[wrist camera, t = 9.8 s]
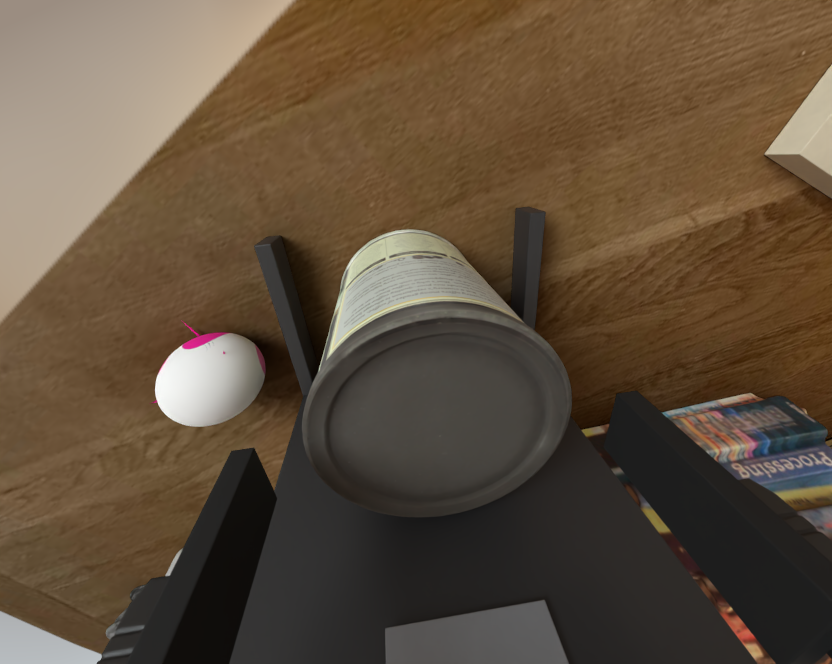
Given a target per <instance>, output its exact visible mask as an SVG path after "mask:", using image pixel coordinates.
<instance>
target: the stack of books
mask: <svg viewBox="0 0 832 664" xmlns="http://www.w3.org/2000/svg"><path fill="white" fill-rule="evenodd" d="M661 413H663V414H664V415H665V416H666V417H667V418H668V419H669V420H671V421H672V422H673V423H674V424H675V425H676V426H677V427H678V428H680V429H681V430H682V431H683V432H684V433H685V434H686V435H688V436H689V437H690V438H691V439H692V440H693V441H694V442H696V443H697V444H698V445H699V446H700V447H701V448H702V449H703V450H705V451H706V452H707V453H708V454H709V455H710V456H711V457H713V458H714V459H715V460H716V461H717V462H718V463H719V464H721V465H722V466H723V467H724V468H725V469H726V470H727V471H728V472H730V473H731V474H732V475H733V476H734V477H735V478H736V479H738V480H740V479H746V478H749V479H751V480H753V481H755V482H756V483H758V484H760V485H762V486H763V487H765V488H767V489H769V490H770V491H772V492H774V493H775V494H776V495H778V496H779V497H780V498H781V499H782V500H784V501H785V502H786V503H787V504H788V505H790V506H791V507H792V508H793V509H794V510H796V511H797V514H798V515H800V516H801V515H802V516H803V517H804V518H805V519H806V520H808V521H809V522H810V523H811V524H812V525H814V526H815V527H816V530H817V531H819V532H822V533H823V534H825V535H826V536H827V537H828V538H829V539H831V540H832V449H831V448H830V447H829V446H828V445H826V443H825V437H826V436H827V435H828V431H827V429H826V428H825V427H824V426H823V425H822V424H820V423H819V422H817V421H816V420H815V419H813V418H812V417H810V416H809V415H808V414H807V412H806V409H804V408H799V407H798V406H796V405H795V404H794V403H793V402H791V401H790V400H789V399H787V398H786V397H784V396H773V397H769V398H766V399H762V398H759V397H757V396H755V395H753V394H752V393H747V394H742V395H737V396H733V397H729V398H724V399H720V400H715V401H710V402H706V403H702V404H697V405H693V406H688V407H684V408H680V409H675V410H671V411H666V412H661ZM608 427H609V424H607V425H602V426H598V427H593V428H588V429H583V430H582V432H583V433H584V434H585V436H586V437H587V438H588V440H589V441H590V442H591V444H592V445H593V446H594V448H595V449H596V450H597V452H598V453H599V454H600V455H601V457H602V458H603V459H604V461H605V462H606V463H607V465H608V466H609V467H610V469H611V470H612V471H613V473H614V474H615V475H616V477H617V478H618V479H619V481H620V482H621V483H622V485H623V486H624V487H625V489H626V490H627V491H628V493H629V494H630V495H631V497H632V498H633V499H634V500H635V502H636V503H637V504H638V506H639V507H640V508H641V510H642V511H643V512H644V514H645V515H646V516H647V518H648V519H649V520H650V522H651V523H652V524H653V526H654V527H655V528H656V530H657V531H658V532H659V534H660V535H661V536H662V538H663V539H664V540H665V541H666V543H667V544H668V545H669V547H670V548H671V549H672V551H673V552H674V553H675V555H676V556H677V557H678V559H679V560H680V561H681V563H682V564H683V565H684V567H685V568H686V569H687V571H688V572H689V573H690V575H691V576H692V577H693V579H694V580H695V581H696V583H697V584H698V585H699V586H700V588H701V589H702V590H703V592H704V593H705V594H706V596H707V597H708V598H709V600H710V601H711V602H712V604H713V605H714V606H715V608H716V609H717V610H718V612H719V613H720V614H721V616H722V617H723V618H724V620H725V621H726V622H727V624H728V625H729V626H730V627H731V629H732V630H733V631H734V633H735V634H736V635H737V637H738V638H739V639H740V641H741V642H742V643H743V645H744V646H745V647H746V649H747V650H748V651H749V653H750V654H751V655H752V657H753V658H754V659H755V661H756V662H757V663H758V664H776V663H775V662H774V661H773V659H772V658H771V657H770V656H769V654H768V653H767V652H766V650H765V649H764V648H763V647H762V645H761V644H760V643H759V642H758V640H757V639H756V638H755V637H754V635H753V634H752V633H751V632H750V630H749V629H748V628H747V627H746V625H745V624H744V623H743V622H742V620H741V619H740V618H739V617H738V615H737V614H736V613H735V612H734V610H733V609H732V608H731V607H730V605H729V604H728V603H727V602H726V600H725V599H724V598H723V597H722V595H721V594H720V593H719V591H718V590H717V589H716V588H715V586H714V585H713V584H712V583H711V581H710V580H709V579H708V578H707V576H706V575H705V574H704V573H703V571H702V570H701V569H700V568H699V566H698V565H697V564H696V563H695V561H694V560H693V559H692V558H691V556H690V555H689V554H688V553H687V551H686V550H685V549H684V548H683V546H682V545H681V544H680V543H679V541H678V540H677V539H676V537H675V536H674V535H673V534H672V532H671V531H670V530H669V529H668V527H667V526H666V525H665V524H664V522H663V521H662V520H661V519H660V517H659V516H658V515H657V514H656V512H655V511H654V510H653V509H652V507H651V506H650V505H649V504H648V502H647V501H646V500H645V499H644V497H643V496H642V495H641V494H640V492H639V491H638V490H637V489H636V487H635V486H634V485H633V483H632V482H631V481H630V480H629V478H628V477H627V476H626V475H625V473H624V472H623V471H622V470H621V468H620V467H619V466H618V465H617V463H616V462H615V461H614V460H613V458H612V457H611V456H610V455H609V453H608V452H607V451H606V450H605V448H604V443H605V439H606V435H607V431H608ZM815 664H832V659H831V658H830V657H829V656H828V654H826V655H825V656H823V657H822V658H821V659H820V660H818V661H817V662H816V663H815Z"/></svg>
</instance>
